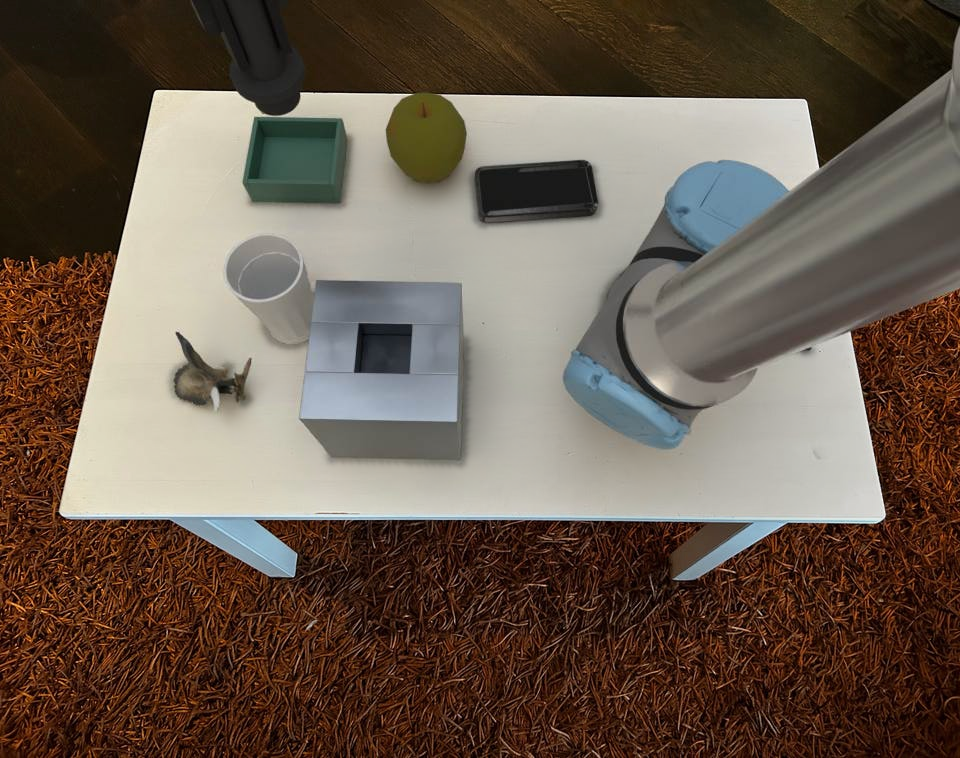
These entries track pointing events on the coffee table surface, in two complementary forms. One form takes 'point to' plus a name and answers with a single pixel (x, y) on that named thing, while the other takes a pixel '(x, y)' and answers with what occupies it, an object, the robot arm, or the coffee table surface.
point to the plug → (264, 61)
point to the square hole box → (385, 369)
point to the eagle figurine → (205, 379)
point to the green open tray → (296, 160)
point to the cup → (272, 284)
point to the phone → (535, 191)
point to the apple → (426, 137)
